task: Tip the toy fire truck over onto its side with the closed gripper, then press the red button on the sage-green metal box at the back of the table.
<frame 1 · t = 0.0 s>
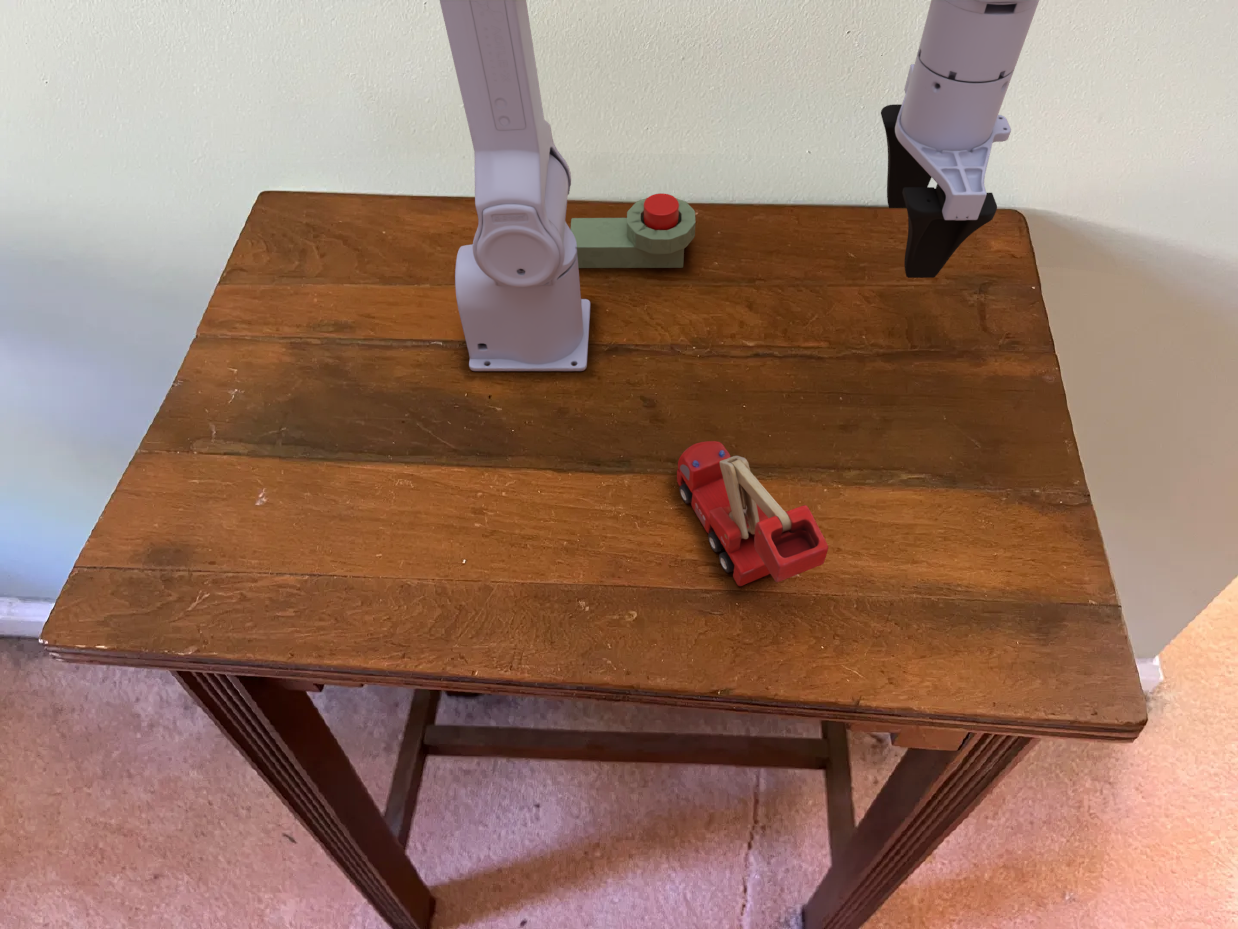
hand: (910, 238, 63), 10 cm above the table, tool pointing down, fingers open, 7 cm apart
toy fire truck: (734, 547, 60), on the table
button: (661, 212, 74), point 4 cm above the table, slide at 0.1 cm
button box: (627, 253, 78), on the table
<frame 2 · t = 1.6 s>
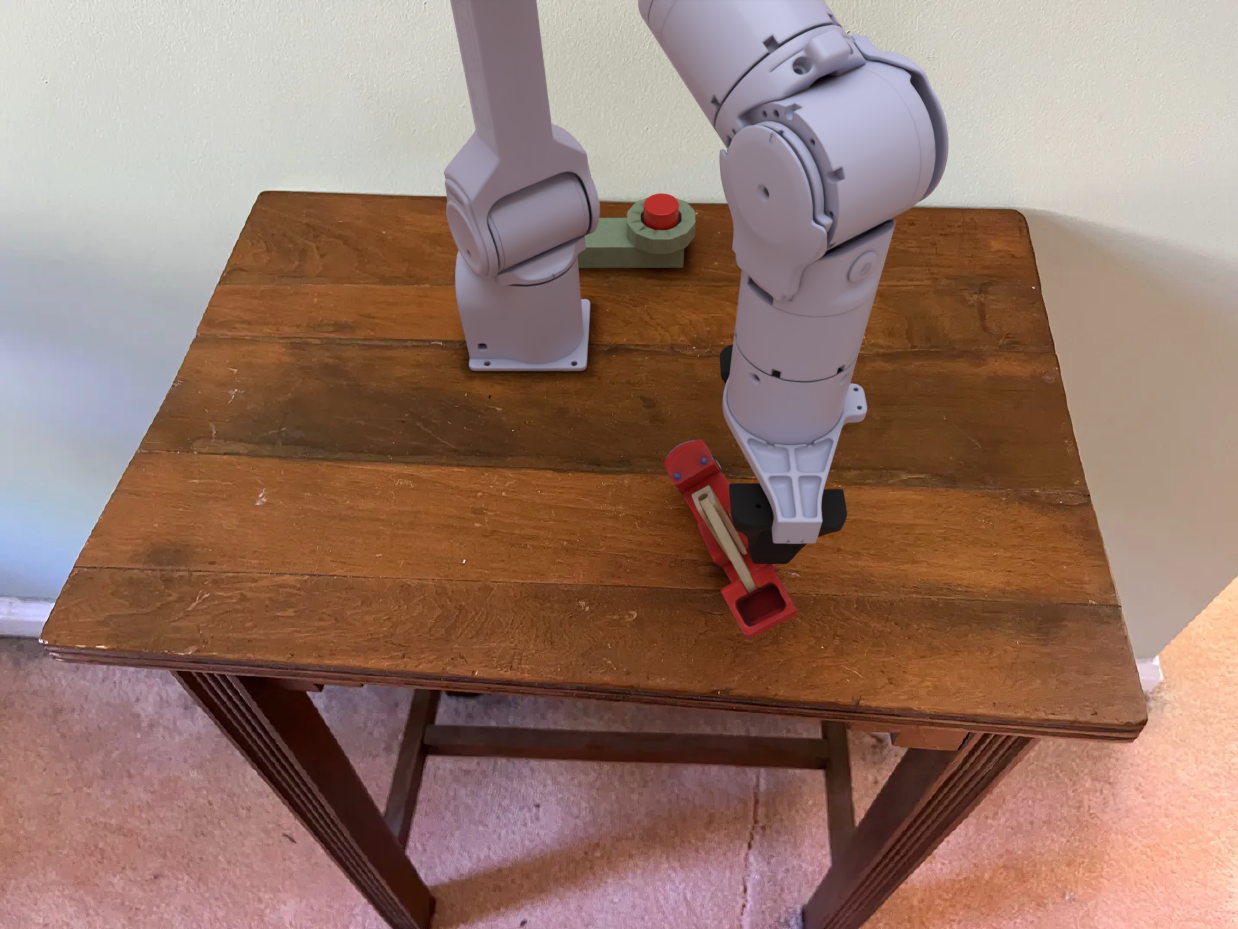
hand: (764, 501, 50), 10 cm above the table, tool pointing down, fingers open, 7 cm apart
toy fire truck: (734, 539, 59), point 1 cm above the table
everything else where it was.
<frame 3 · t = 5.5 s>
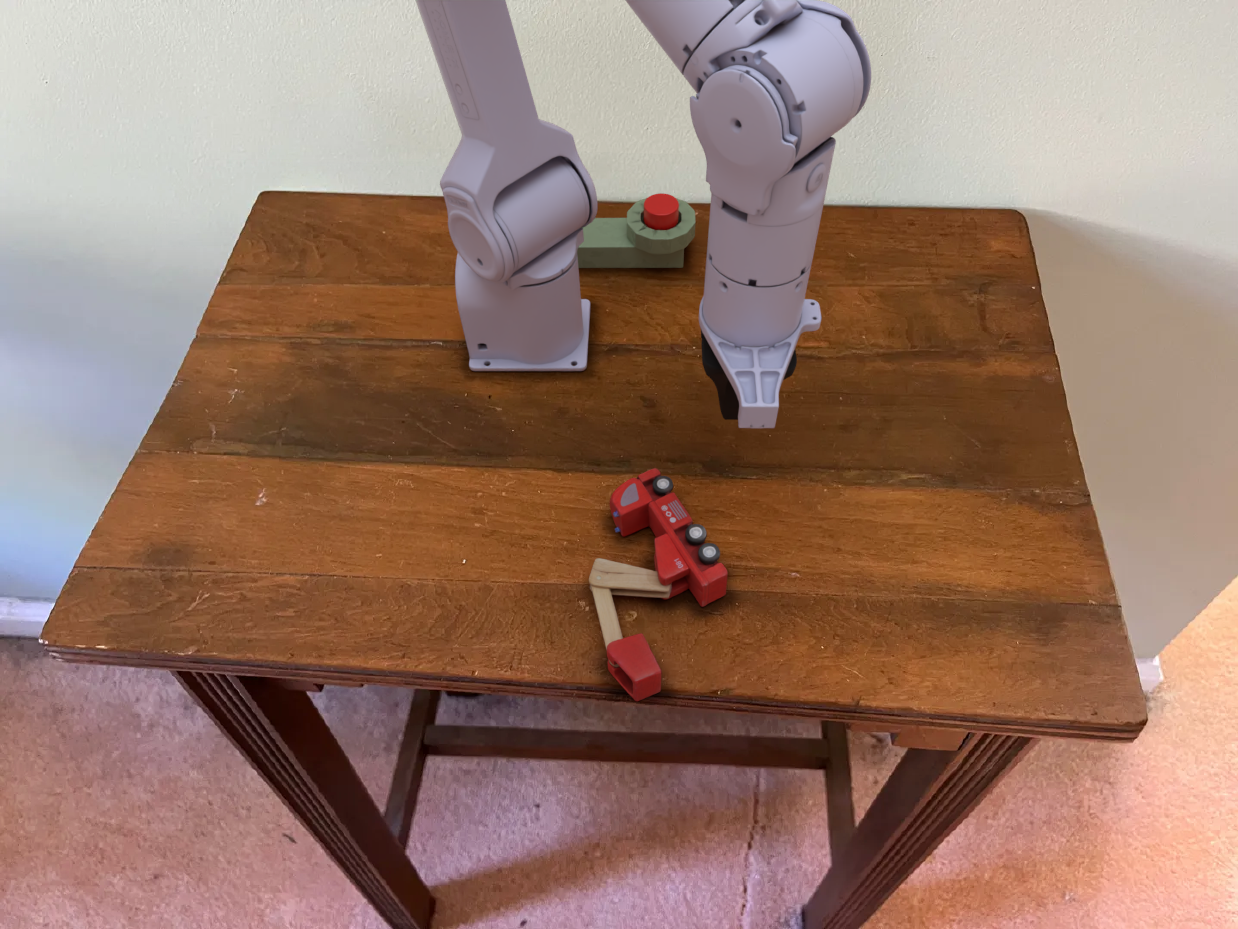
hand: (737, 411, 58), 7 cm above the table, tool pointing down, fingers closed
toy fire truck: (710, 544, 58), point 2 cm above the table
everything else where it was.
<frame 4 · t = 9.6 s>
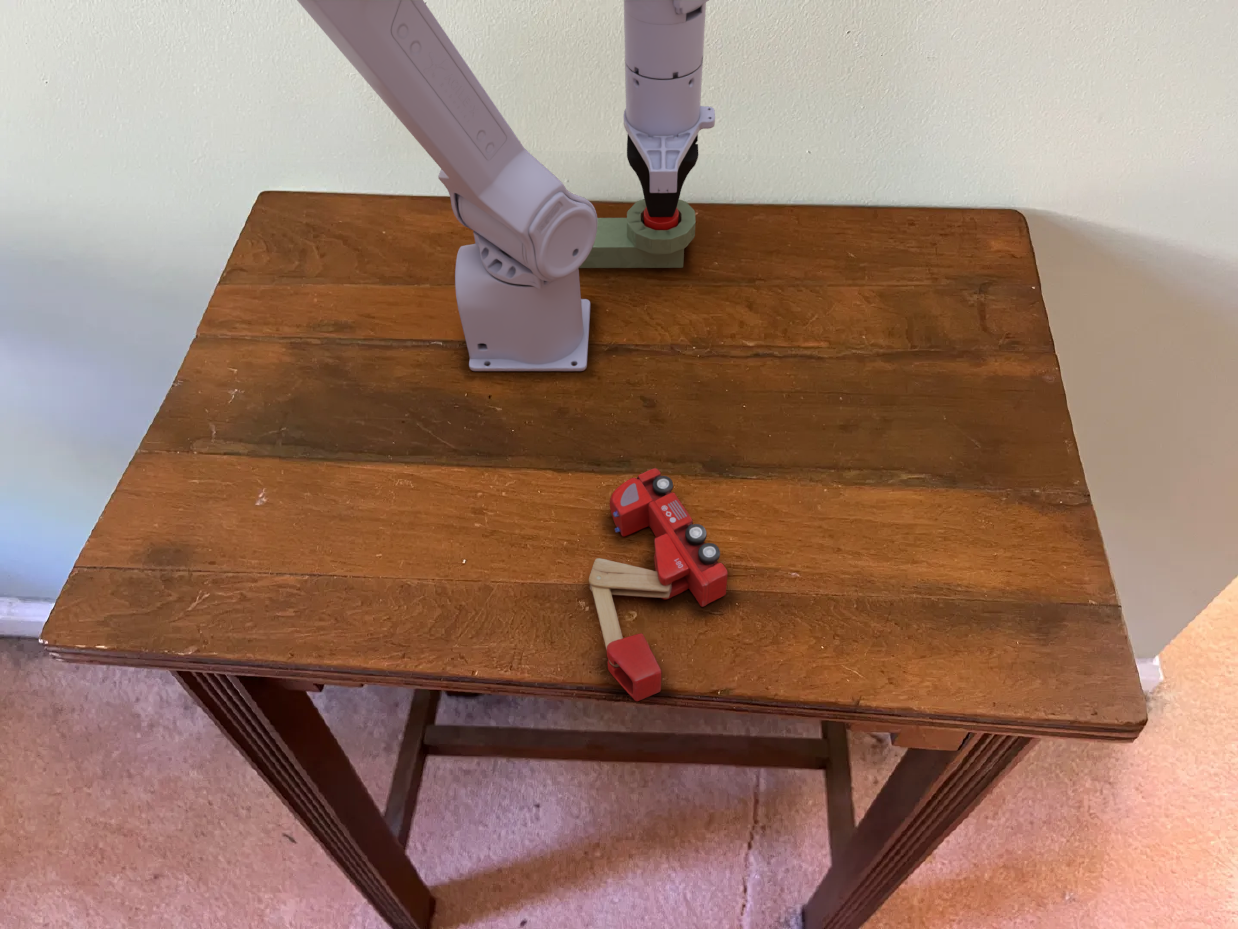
hand: (661, 212, 74), 4 cm above the table, tool pointing down, fingers closed, pressing on button
button: (661, 220, 75), point 4 cm above the table, slide at -0.8 cm, touching gripper
everything else where it was.
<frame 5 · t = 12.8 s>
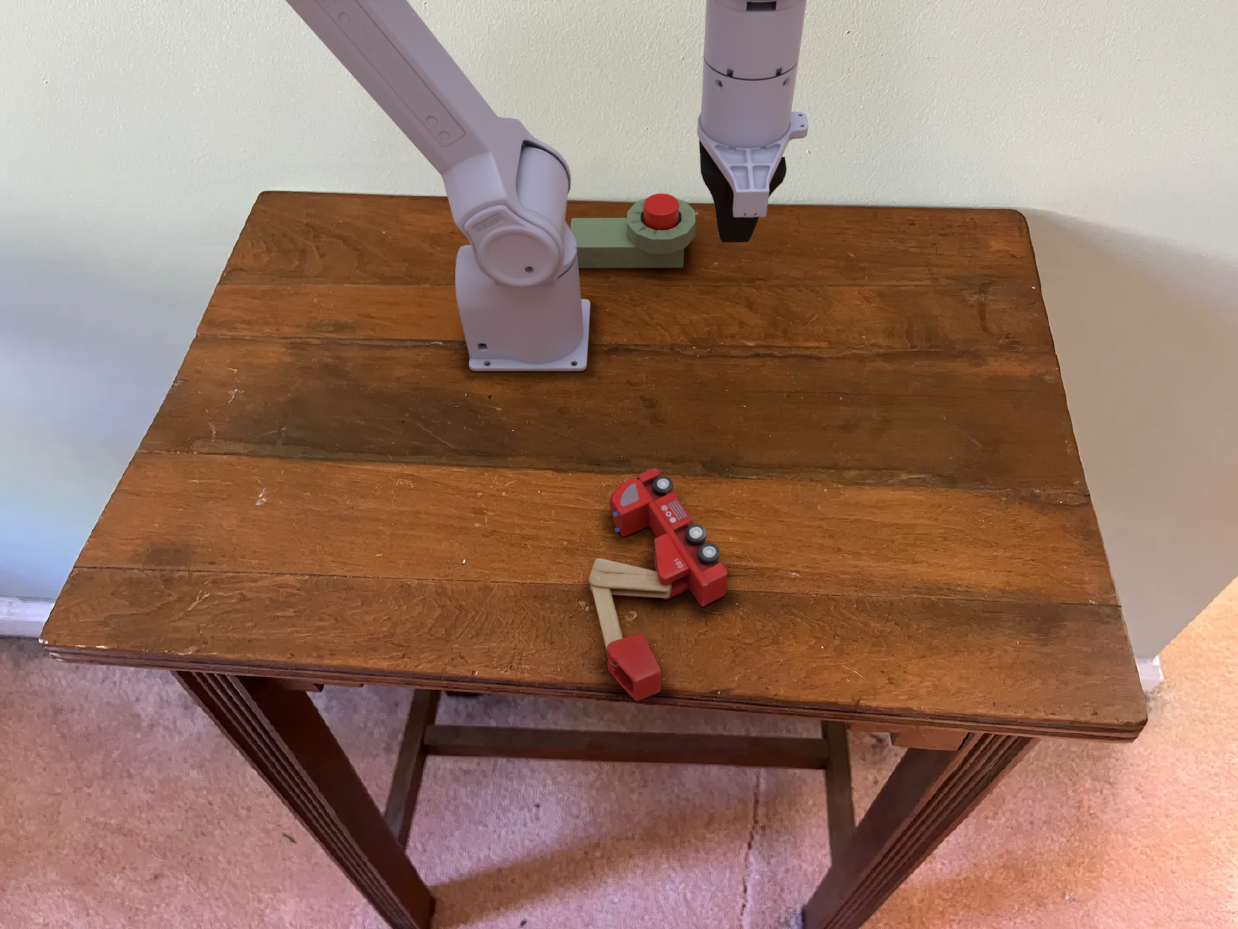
hand: (734, 236, 63), 10 cm above the table, tool pointing down, fingers closed
button: (661, 212, 74), point 4 cm above the table, slide at 0.1 cm
everything else where it was.
at the end: toy fire truck tilted 91°; button pushed in 1.0 cm at the most during the clip, back to where it started at the end; button slide at 0.1 cm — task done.
